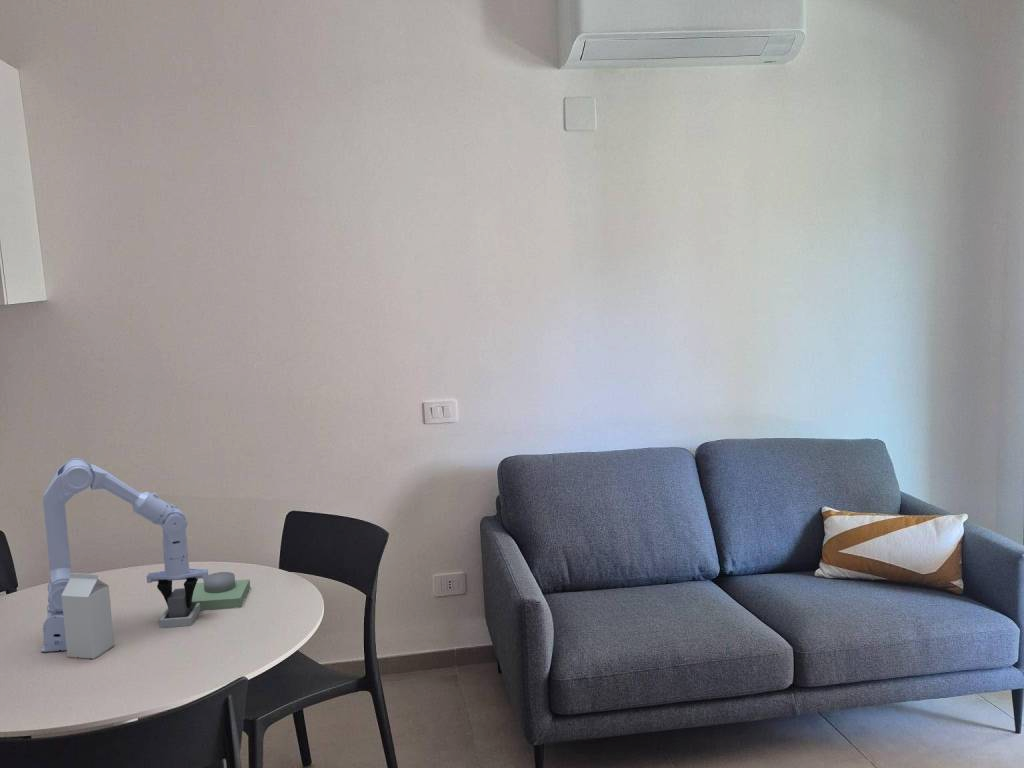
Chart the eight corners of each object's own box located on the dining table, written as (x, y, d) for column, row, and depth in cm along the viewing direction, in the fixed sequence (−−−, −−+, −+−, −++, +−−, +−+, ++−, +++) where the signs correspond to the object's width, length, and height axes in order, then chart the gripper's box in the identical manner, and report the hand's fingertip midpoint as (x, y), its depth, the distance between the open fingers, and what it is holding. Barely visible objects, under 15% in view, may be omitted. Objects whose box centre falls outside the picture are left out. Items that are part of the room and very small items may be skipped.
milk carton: (94, 659, 194) (86, 580, 192) (67, 657, 196) (59, 578, 193) (114, 646, 201) (107, 569, 199) (88, 644, 203) (81, 567, 200)
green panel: (233, 622, 213) (231, 601, 212) (159, 627, 211) (158, 606, 210) (250, 587, 237) (248, 569, 236) (184, 592, 234) (182, 573, 234)
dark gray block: (185, 620, 214) (183, 597, 213) (169, 621, 213) (167, 598, 212) (192, 609, 220) (190, 587, 220) (176, 611, 220) (174, 588, 219)
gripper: (209, 548, 219) (213, 599, 221) (150, 552, 217) (155, 603, 219) (202, 557, 212) (206, 609, 214) (142, 561, 211) (146, 613, 212)
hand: (180, 607), depth 216 cm, fingers closed on dark gray block, 4 cm apart
